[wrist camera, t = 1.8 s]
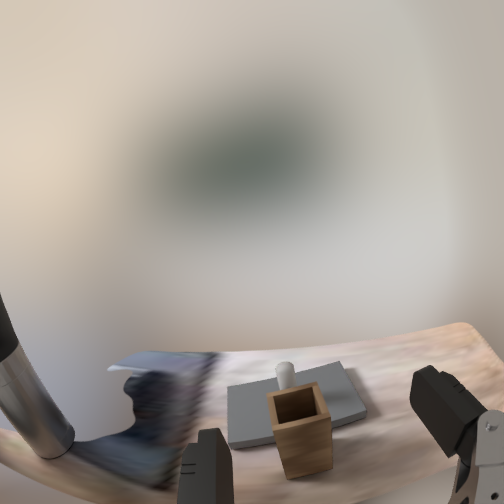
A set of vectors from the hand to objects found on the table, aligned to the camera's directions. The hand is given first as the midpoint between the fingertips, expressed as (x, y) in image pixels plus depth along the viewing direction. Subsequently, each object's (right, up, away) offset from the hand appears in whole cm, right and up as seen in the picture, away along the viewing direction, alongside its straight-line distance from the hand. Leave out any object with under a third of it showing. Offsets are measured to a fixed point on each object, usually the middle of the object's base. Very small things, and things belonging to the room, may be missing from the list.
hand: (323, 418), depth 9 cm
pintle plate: (+3, -14, +24) cm, 28 cm away
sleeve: (+3, -17, +16) cm, 23 cm away
